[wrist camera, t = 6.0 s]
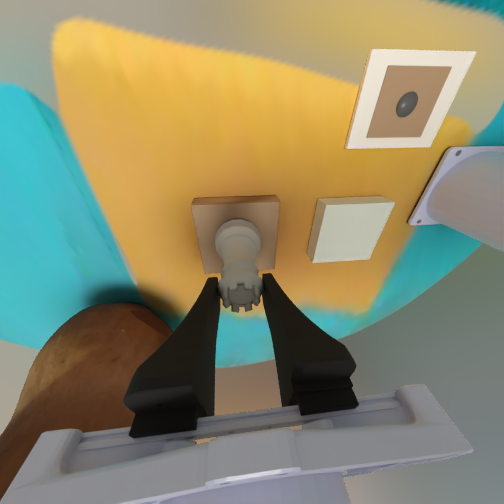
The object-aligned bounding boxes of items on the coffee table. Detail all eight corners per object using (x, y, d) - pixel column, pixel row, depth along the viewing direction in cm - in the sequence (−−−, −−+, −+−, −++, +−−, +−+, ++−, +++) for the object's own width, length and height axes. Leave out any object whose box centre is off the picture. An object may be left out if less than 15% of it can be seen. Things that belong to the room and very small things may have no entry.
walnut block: (275, 195, 18) (280, 201, 16) (271, 258, 23) (274, 269, 21) (194, 198, 17) (190, 205, 16) (206, 262, 22) (204, 273, 20)
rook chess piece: (209, 222, 17) (195, 283, 10) (255, 212, 17) (271, 267, 10) (222, 259, 19) (218, 326, 13) (262, 250, 19) (279, 314, 13)
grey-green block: (381, 195, 19) (395, 202, 18) (359, 249, 23) (369, 259, 22) (317, 198, 19) (326, 205, 17) (306, 253, 23) (312, 263, 21)
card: (470, 53, 13) (479, 50, 13) (426, 146, 17) (432, 147, 16) (368, 50, 13) (374, 47, 12) (344, 148, 16) (347, 148, 16)
